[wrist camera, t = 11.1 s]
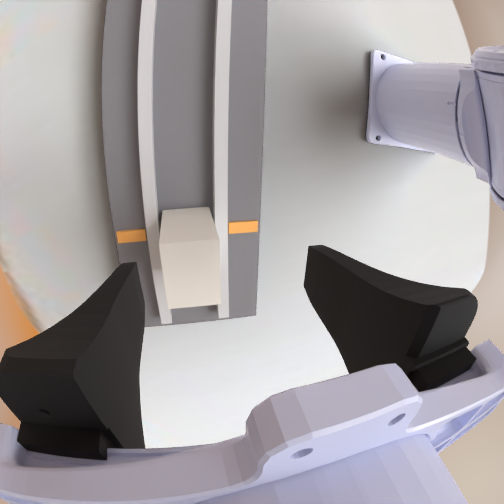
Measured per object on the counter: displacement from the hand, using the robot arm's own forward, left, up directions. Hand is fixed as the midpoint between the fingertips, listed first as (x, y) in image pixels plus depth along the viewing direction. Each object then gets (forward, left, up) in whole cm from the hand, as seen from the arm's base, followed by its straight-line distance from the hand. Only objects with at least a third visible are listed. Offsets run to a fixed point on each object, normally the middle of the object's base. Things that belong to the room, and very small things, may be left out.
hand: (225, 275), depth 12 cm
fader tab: (+1, +2, -8) cm, 8 cm away
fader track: (+1, -6, -10) cm, 12 cm away
